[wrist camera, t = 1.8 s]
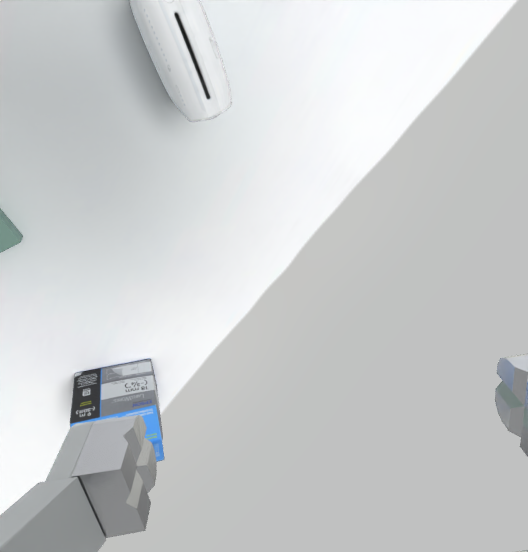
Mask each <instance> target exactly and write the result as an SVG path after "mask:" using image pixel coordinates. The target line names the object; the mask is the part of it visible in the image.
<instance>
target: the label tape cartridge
mask: <svg viewBox="0 0 528 552" xmlns="http://www.w3.org/2000/svg"><path fill="white" fill-rule="evenodd" d="M134 415H140V416H142V417H143V419H144V422H145V425H146V427H147V429H146V434H145V438H146V439H147V440H149V441H150V442H152V444H153V447H154V450H155V456H156V462H158V461H162V460H164V453H163V445H162V439H163V435H162V426H161V418H160V410H159V400H158V393H157V385H156V380H155V375H154V371H153V366H152V362H151V359H147V360H142V361H137V362H132V363H127V364H121V365H116V366H111V367H106V368H101V369H95V370H90V371H85V372H79V373H75V378H74V388H73V398H72V408H71V418H70V427H72V426H73V425H75V424H78V423H85V422H92V421H97V420H104V419H112V418H119V417H127V416H134Z"/></svg>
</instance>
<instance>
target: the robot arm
mask: <svg viewBox="0 0 528 552" xmlns="http://www.w3.org/2000/svg"><path fill="white" fill-rule="evenodd" d="M497 374H498V375H499V376H500V378H501V379H502V380H503V381H502V382H501V383H500V384H499V386H498V387H497V388H496V395H495V402H496V406H497V410H498V414H499V416H500V418H501V420H502V422H503V424H504V425H505V426H506V428H507V429H508V431H510V432H512V433H514V434H516V435H517V436H519V437H521V443H520V447H521V448H522V450H523V451H524V452H525V454H526V455H527V456H528V354H523V355H517V356H511V357H505V358H500V360H499V362H498V366H497ZM146 429H147V427H146V425H145V422H144V419H143V417H142V416H140V415H134V416H127V417H119V418H112V419H104V420H97V421H92V422H85V423H78V424H75V425H73V426H72V427H71V428H70V430H69V432H68V434H67V436H66V438H65V440H64V442H63V444H62V447H61V449H60V451H59V453H58V455H57V457H56V459H55V462H54V464H53V466H52V468H51V470H50V472H49V474H48V476H47V479H46V481H45V482H40V483H38V484H36V485H35V486H34V487H33V488H32V489H31V490H29V491H28V492H27V493H26V494H25V495H24V496H22V497H21V498H20V499H19V500H18V501H17V502H15V503H14V504H13V505H12V506H11V507H10V508H8V509H7V510H6V511H5V512H4V513H3V514H1V515H0V552H98V550H99V549H100V548H101V546H102V545H103V544H104V542H105V541H106V538H108V537H113V536H119V535H124V534H130V533H135V532H140V531H145V529H146V524H147V520H148V515H149V510H150V505H151V502H150V499H149V496H148V494H147V493H148V492H149V491H150V490H151V489H152V488H153V487H154V485H155V480H156V456H155V450H154V447H153V444H152V442H150V441H149V440H147V439H146V438H145V434H146ZM518 552H528V550H525V551H518Z"/></svg>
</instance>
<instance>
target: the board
mask: <svg viewBox="0 0 528 552" xmlns="http://www.w3.org/2000/svg"><path fill="white" fill-rule="evenodd" d="M22 237H23V236H22V235H21V233H20V232H19V231H18V230H17V228H16V227H15V226H14V225H13V223H12V222H11V221H10V220H9V219H8V217H7V216H6V215H5V214H4V212H3V211H2V210H1V209H0V253H1V252H3V251H5V250H7V249H9V248H11V247H13V246H14V245H16V244H18V243H20V242H21V240H22Z"/></svg>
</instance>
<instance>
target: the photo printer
mask: <svg viewBox="0 0 528 552" xmlns="http://www.w3.org/2000/svg"><path fill="white" fill-rule="evenodd" d="M129 1H130V6H131V9H132V12H133V15H134V18H135V20H136V23H137V26H138V28H139V31H140V33H141V35H142V38H143V40H144V43H145V45H146V47H147V50H148V52H149V54H150V57H151V59H152V61H153V63H154V66H155V68H156V70H157V72H158V74H159V76H160V78H161V81H162V83H163V85H164V87H165V89H166V91H167V93H168V95H169V96H170V98H171V100H172V101H173V103H174V104H175V105H176V107H177V108H178V109H179V110H180V111H181V113H182V114H183V115H184V116H185V117H186V118H187V119H188V120H189V121H190V122H197V121H202V120H210V119H213V118H215V117H217V116H218V115H219V114H220V113H223V112H224V111H226V110H227V109H228V108H229V107H230V106H231V104H232V102H231V90H230V86H229V82H228V78H227V75H226V71H225V68H224V65H223V61H222V58H221V55H220V52H219V49H218V46H217V44H216V41H215V38H214V35H213V32H212V30H211V27H210V24H209V22H208V19H207V17H206V14H205V11H204V9H203V7H202V4H201V2H200V0H129Z"/></svg>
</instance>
